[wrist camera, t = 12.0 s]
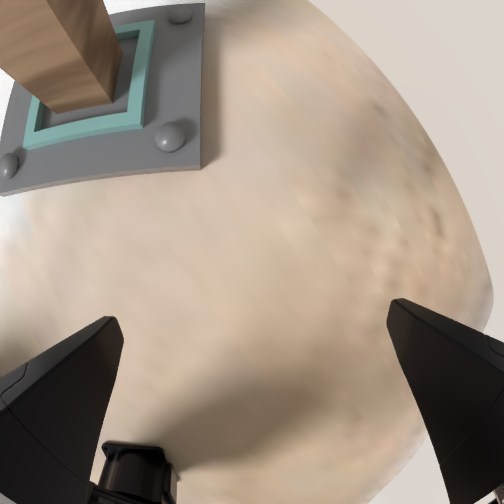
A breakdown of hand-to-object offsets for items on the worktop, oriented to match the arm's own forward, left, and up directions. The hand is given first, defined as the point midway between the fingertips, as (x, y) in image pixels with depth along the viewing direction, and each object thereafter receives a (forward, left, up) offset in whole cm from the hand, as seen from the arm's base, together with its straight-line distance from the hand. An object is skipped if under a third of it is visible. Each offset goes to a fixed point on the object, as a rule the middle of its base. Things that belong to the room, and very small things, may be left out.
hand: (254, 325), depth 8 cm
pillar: (-10, +15, -10) cm, 21 cm away
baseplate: (-10, +15, -12) cm, 22 cm away
